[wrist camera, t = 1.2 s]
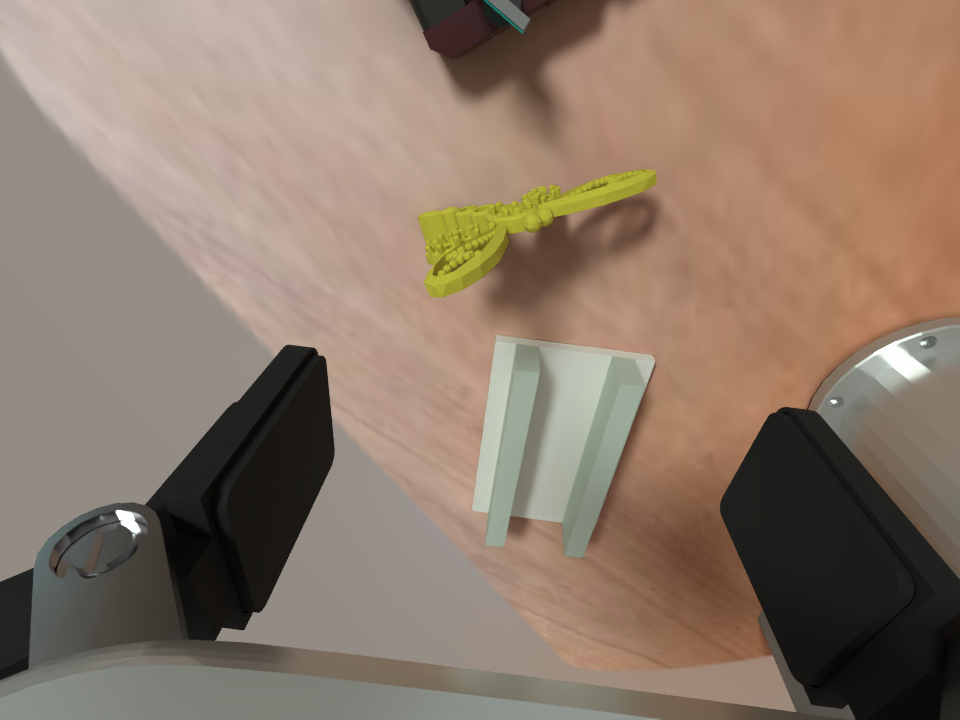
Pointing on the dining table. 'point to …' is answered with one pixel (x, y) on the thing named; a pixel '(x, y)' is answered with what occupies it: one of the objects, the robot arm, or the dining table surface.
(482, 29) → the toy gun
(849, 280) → the dining table surface
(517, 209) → the decorative insect
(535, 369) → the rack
